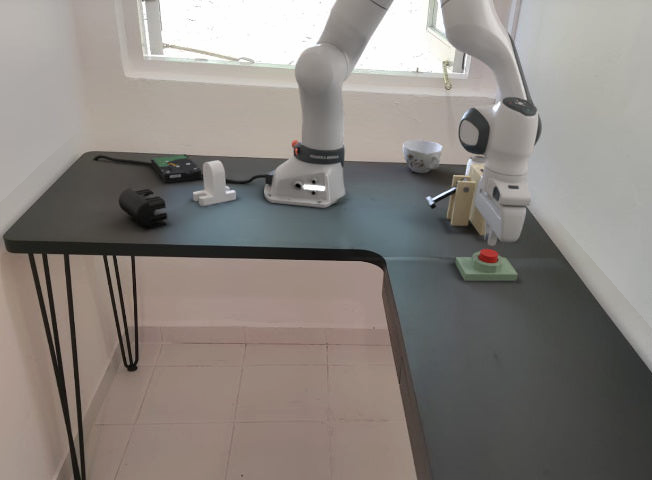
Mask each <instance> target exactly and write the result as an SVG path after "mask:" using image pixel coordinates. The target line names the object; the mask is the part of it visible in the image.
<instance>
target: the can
mask: <svg viewBox="0 0 652 480" xmlns="http://www.w3.org/2000/svg"><path fill="white" fill-rule="evenodd" d="M485 162H486V157H485V156H484V155H471V156H470V157H469V160H468V161H467V163H466V167H465V174H464V175H465V176H469V172H470V167H471V164H480V165H485Z"/></svg>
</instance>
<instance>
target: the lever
mask: <svg viewBox="0 0 652 480" xmlns="http://www.w3.org/2000/svg"><path fill="white" fill-rule="evenodd" d="M460 181H468V180H467V179H466V178H464V179H462V180H460ZM456 185H457V182H456ZM456 188H457V186H456V187H454V188H452V189H451V188H450V189H449V190H446V191H444V192H442V193H440V194H438V195H437V196H435V197H432V196H431V195H429V196H426V197H425V199H426V201H427V203H428V205H429V206H430V208H431V210H433V209H435V208H437V206H436V203H438V202H440V201H442V200H445V199H446V198H448V197H450V195H452V194H454V193H456Z"/></svg>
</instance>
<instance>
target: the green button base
mask: <svg viewBox="0 0 652 480" xmlns="http://www.w3.org/2000/svg"><path fill="white" fill-rule="evenodd" d="M480 251H481V250H480ZM480 251H477V252H474V253H473V254H472V256H471V257H470V256H467V257H466V256H456V257H455V262H454V264H455V266H456V268H457V270H458V271H459V273H460V275H461V277H462V279H463V281H466V282H467V281H469V282H470V281H471V282H472V281H473V282H476V281H478V282H482V281H485V282H486V281H487V282H488V281H489V282H490V281H491V282H492V281H493V282H494V281H495V282H497V281H500V282H501V281H503V282H511V281H512V282H517V279H518V276H519V274H518V272H517V271H516V270H515V268H514V267H513V266H512V264H511V262H510V261H509V259H508V258H507V257H503V256H501V255H500V254H498V258H497V262H496V263H486V262H483V261H481V260H479V255H480Z"/></svg>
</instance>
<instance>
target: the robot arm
mask: <svg viewBox="0 0 652 480" xmlns="http://www.w3.org/2000/svg"><path fill="white" fill-rule="evenodd" d="M394 1H395V0H336V1H335V2H334V4H333V5H332V7H331V9H330V12H329V15H328V18H327V20H326V22H325V24H324V27H323V29H322V32H321V34H320V36H319V37H318V39H317V41H316V42H315V43H314V44H313V45H311V46H309V47H307V48H306V49H304V50H303V51H302V52H301V53H300V55H299V56H298V58H297V61H296V63H295V66H294V76H295V80H296V81H295V82H296V83H297V86H298V93H299V100H300V108H301V141H298V139H293V140H292V141H291V147H292V149H293V156H291V157H290V158H289V159H287V160H285V161H284V162H283V163H281V164H279V165H278V166H277V167H276V168H275V169H272V170H270V171H268V172H266V173H265V174H257V175H253V176H252V177H251V178H249V179H245V180H234V179H229V178H225V182H226V183H230V184H241V185H244V184H250V183H252V182H254V180H257V179H264V181H265V182H264V183H265V186H264V188H263V197H264V198H265V199H266V201H268V202H269V203H272V204H280V205H281V204H282V205H291V206H300V207H311V208H320V209H325V208H328V207H330V206H331V205H335V204H339V202H340V201H339V199H342V198H344V196H345V195H346V188H345V181H344V180H345V179H344V166H345V160H346V147H345V143H344V142H345V140H344V139H345V123H346V114H345V111H344V102H343V100H344V99H343V86H344V85H343V84H344V83H345V81H347V80H348V79H349V77H350V75H351V74H352V72H353V71H354V69H355V67H356V66H357V64H358V62H359V60H360V58H361V57H362V55H363V53H364V51H365V49H366V47H367V45H368V43H369V41H370V40H371V38H372V36H373V35H374V34H375V32H376V30H377V28H378V27H379V25H380V24H381V22H382V20H383V19H384V17H385V15H386V14H387V12H388V11H389V9H390V8H391V6H392V4H393V2H394ZM437 3H438V10H439V16H440V22H441V28H442V31H443V34H444V36H445V39H446V40H447V42H448V43H449V44H450V45H451V46H452V48H455V49H456V50H457V51H459V52H461V53H463V54H466V55H468V56H470V57H473V58H475V59H476V60H478V61H480V62H482V63H483V64H485V65H486V66H487V67H488V68H489V69H490V70H491V71H492V73H493V75H494V76H495V80H496V83H497V87H498V90H499V93H500V98H501V100H499V101H498V102H496V103H493V104H490V105H479V106H474V107H470V108H468V109H467V110H466V111H465V112H464V114H463V115H462V117H461V119H460V121H459V125H458V140H459V143H460V145H461V146H462V147H463V149H464V150H465V151H466V152H468V153H470V154H472V155H476V156H483V157H486V162H485V165H484V170H483V175H482V177H481V179H480V181H479V184H478V188H477V191H476V195H475V207H476V208H477V209H478V211H479V212H480V214H481V215H482V216H483V218H484V219H485V235H484V237H483V239H484V241H485V243H486V244H487V245H488V246H491V247H494V246H496V245H497V242H498V240H499V242H501V243H516V242H517V241H518V240H519V238H520V236H521V233H522V230H523V226H524V224H525V219H526V214H527V206H528V207H529V206H530V205H531V202H532V194H531V192H530V188H529V186H528V179H527V177H528V172H529V160H530V157H531V155H532V154H533V151H534V148H535V147H536V145H537V143H538V142H539V140H540V138H541V135H542V129H543V127H542V119H541V116H540V114H539V111H538V108H537V107H536V105H535V104H534V102H533V99H532V96H531V93H530V90H529V86H528V84H527V83H528V82H527V79H526V77H525V73H524V70H523V67H522V63H521V60H520V59H521V58H520V56H519V53H518V50H517V47H516V44H515V42H514V39H513V38H512V35H511V33H509V32H508V31H507V30H506V28H505V27H504V25H503V24H502V22H501V20H500V18H499V16H498V12H497V10H496V8H495V3H494V0H437ZM99 159H104V160H108V161H111V162H116V163H125V164H126V163H127V164H134V165H135V164H136V165H144V166H149V167H153V166H152V163H151V162H148V161H142V160H141V161H140V160H134V159H133V160H132V159H123V158H114V157H111V156H106V155H103V154H99V155H96V156H95V157H93V159H92V160H93V161H98V160H99ZM202 178H203V173H202Z"/></svg>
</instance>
